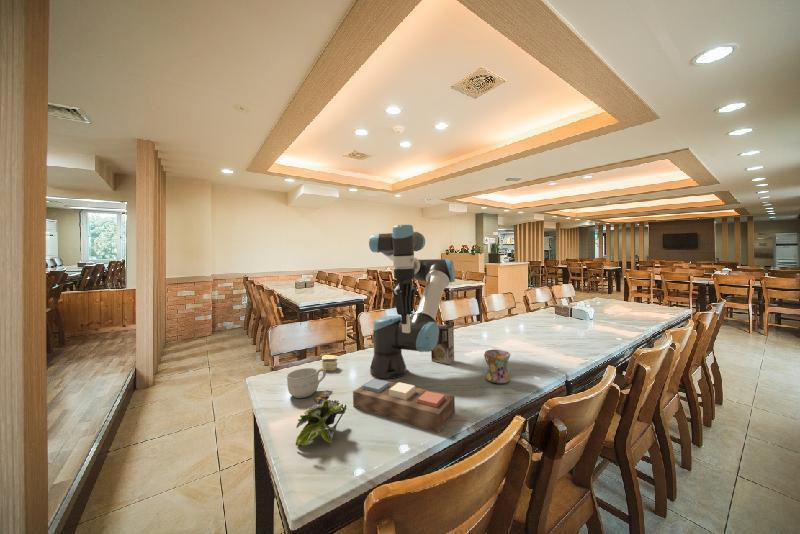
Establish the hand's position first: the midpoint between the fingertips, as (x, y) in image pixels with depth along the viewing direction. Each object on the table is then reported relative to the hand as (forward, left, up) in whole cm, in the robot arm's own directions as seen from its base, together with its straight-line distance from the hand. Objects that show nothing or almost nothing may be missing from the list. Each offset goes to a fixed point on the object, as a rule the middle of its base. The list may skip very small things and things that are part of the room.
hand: (406, 332), depth 110 cm
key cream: (+6, -14, -18) cm, 24 cm away
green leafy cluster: (-5, -37, -21) cm, 43 cm away
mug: (+26, +23, -21) cm, 41 cm away
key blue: (-4, -14, -18) cm, 24 cm away
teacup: (-30, -20, -21) cm, 42 cm away
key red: (+16, -14, -18) cm, 29 cm away
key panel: (+6, -14, -21) cm, 26 cm away
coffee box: (0, +33, -21) cm, 39 cm away
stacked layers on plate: (-40, +1, -21) cm, 45 cm away
